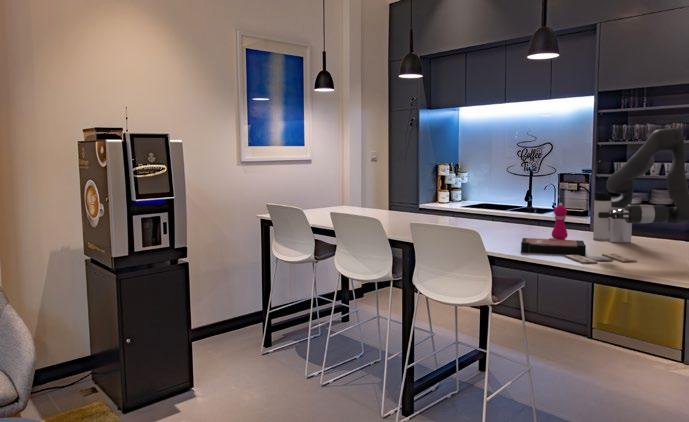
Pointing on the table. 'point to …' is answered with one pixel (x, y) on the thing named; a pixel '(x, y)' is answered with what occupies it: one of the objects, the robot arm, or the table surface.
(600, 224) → the travel mug
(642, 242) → the table surface
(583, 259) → the brown flat boards
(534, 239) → the book
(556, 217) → the pepper mill
